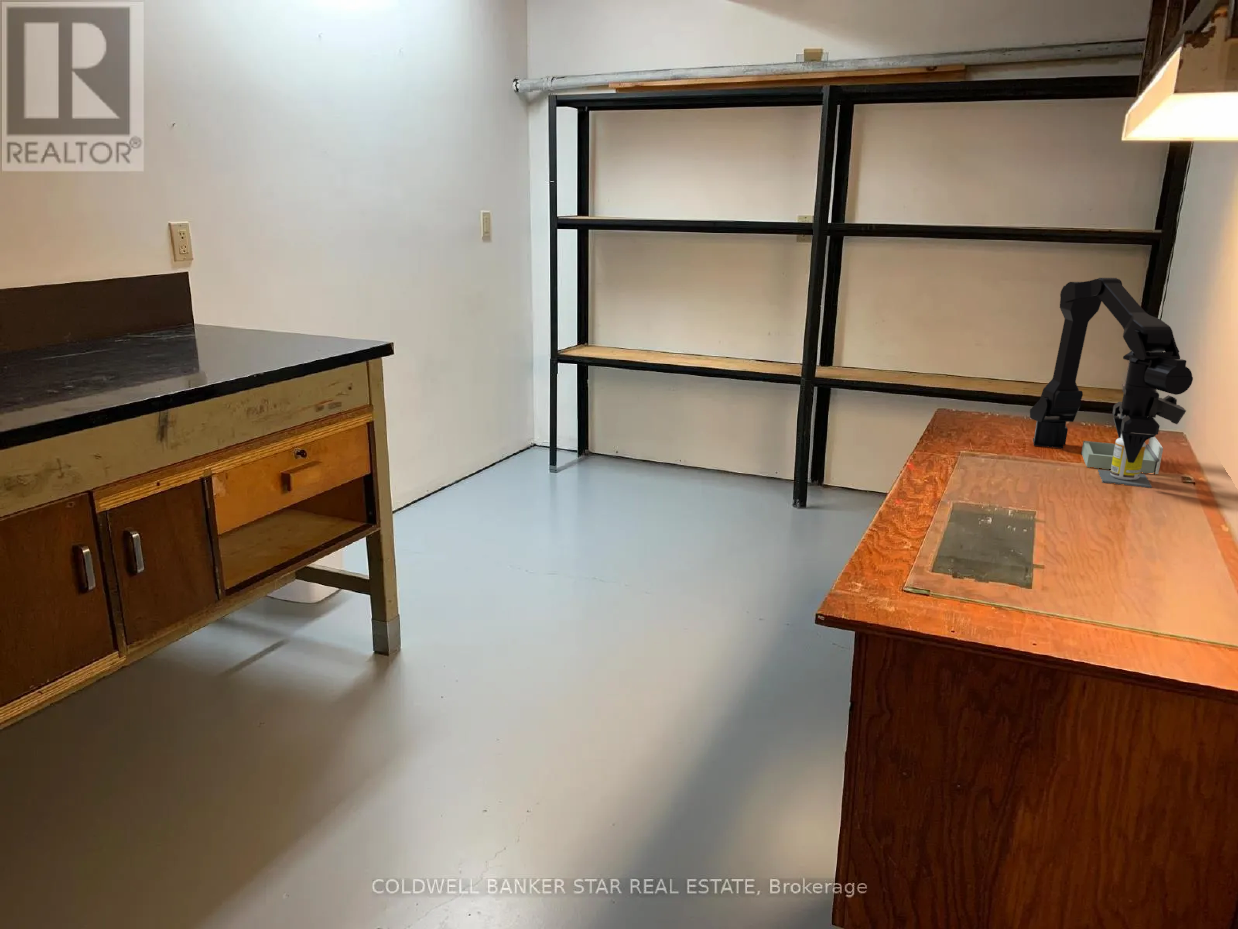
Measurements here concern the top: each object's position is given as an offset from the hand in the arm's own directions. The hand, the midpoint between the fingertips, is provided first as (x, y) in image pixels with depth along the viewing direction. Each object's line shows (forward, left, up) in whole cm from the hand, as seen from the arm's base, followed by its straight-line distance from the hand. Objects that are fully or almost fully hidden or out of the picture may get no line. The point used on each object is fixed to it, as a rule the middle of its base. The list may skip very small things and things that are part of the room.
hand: (1127, 456), depth 182 cm
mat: (0, 0, -5) cm, 5 cm away
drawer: (0, +13, -5) cm, 14 cm away
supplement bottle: (0, 0, -5) cm, 5 cm away
